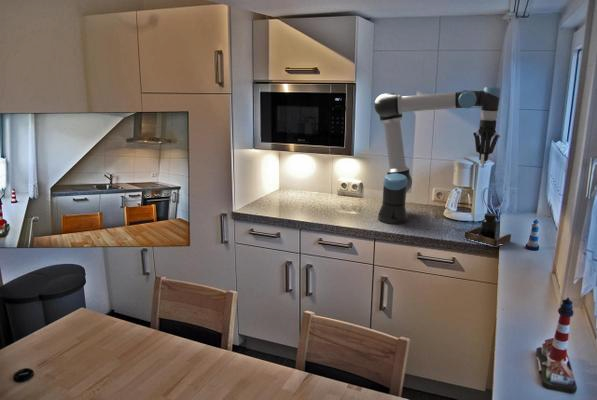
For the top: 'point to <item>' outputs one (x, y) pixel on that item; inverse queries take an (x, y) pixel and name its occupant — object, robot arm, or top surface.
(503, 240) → the walnut bay
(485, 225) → the supplement bottle
